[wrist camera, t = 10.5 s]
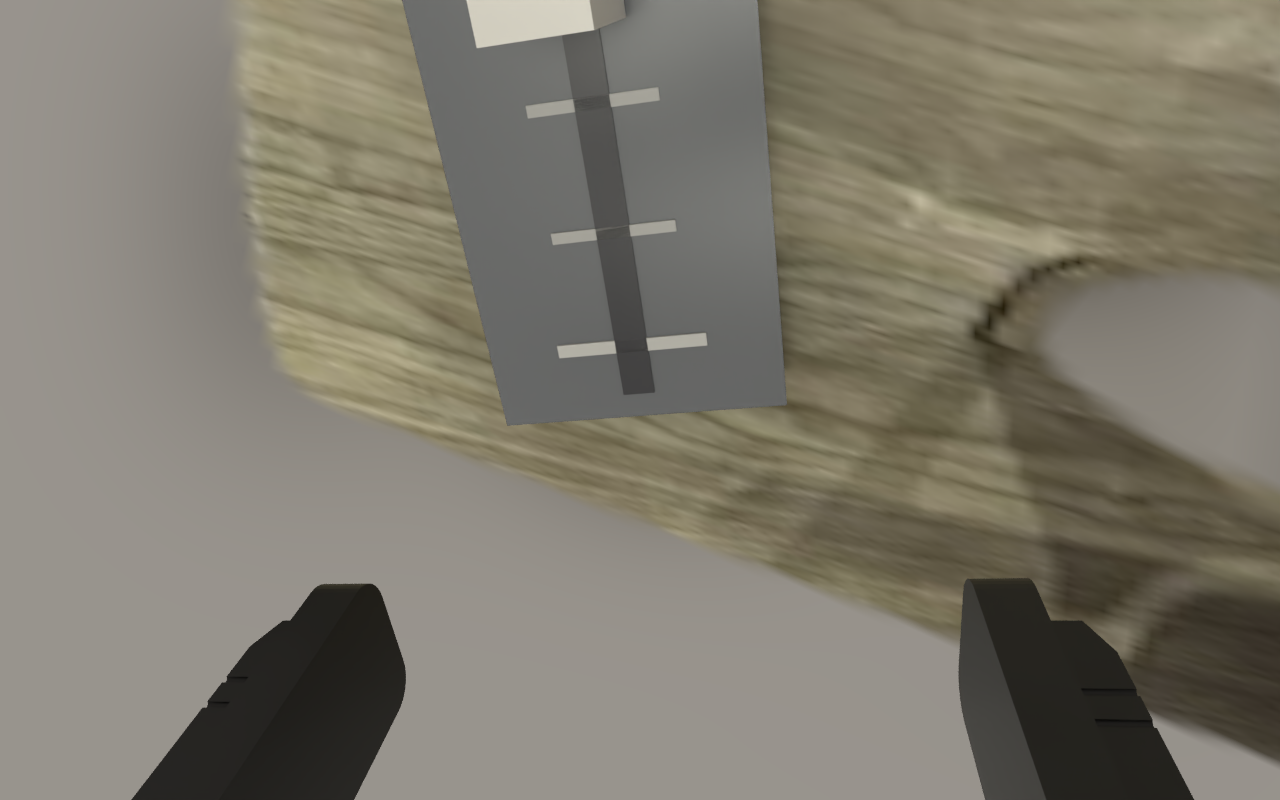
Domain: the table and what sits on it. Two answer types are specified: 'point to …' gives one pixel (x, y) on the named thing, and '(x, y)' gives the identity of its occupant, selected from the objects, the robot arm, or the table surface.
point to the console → (613, 207)
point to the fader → (538, 18)
